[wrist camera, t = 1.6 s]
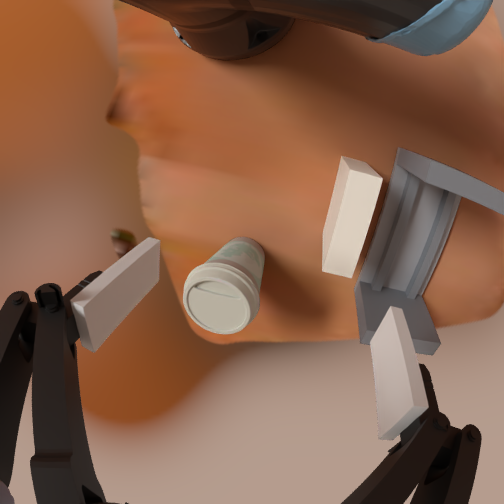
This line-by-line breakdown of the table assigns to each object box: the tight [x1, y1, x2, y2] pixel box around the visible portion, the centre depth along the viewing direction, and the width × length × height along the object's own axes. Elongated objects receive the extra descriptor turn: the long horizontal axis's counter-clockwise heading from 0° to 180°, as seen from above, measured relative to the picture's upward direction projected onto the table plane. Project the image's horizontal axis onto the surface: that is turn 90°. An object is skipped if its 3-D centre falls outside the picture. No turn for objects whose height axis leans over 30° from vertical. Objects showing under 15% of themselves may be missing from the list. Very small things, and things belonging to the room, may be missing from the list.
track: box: [354, 147, 504, 355], centre depth 28 cm, size 20×10×11 cm, turn 171°
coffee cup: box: [183, 237, 265, 334], centre depth 34 cm, size 9×8×12 cm
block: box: [322, 156, 383, 278], centre depth 29 cm, size 10×3×10 cm, turn 171°
